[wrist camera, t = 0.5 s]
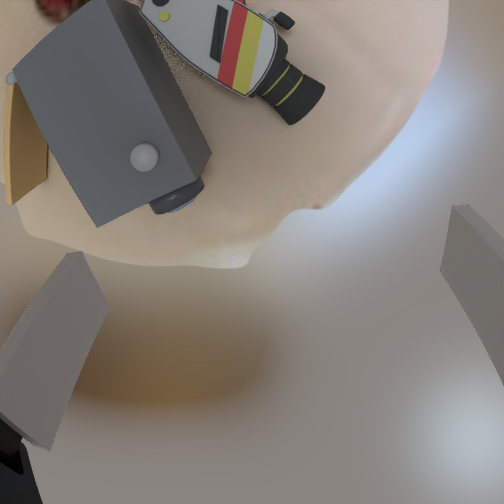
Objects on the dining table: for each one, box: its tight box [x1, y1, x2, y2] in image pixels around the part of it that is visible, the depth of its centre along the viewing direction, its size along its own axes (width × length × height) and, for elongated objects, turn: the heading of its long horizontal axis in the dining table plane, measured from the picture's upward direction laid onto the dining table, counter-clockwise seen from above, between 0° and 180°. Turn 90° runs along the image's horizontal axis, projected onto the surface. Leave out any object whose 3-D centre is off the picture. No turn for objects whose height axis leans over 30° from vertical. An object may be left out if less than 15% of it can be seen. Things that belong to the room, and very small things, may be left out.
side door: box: [4, 72, 47, 205], centre depth 28 cm, size 16×2×8 cm, turn 163°
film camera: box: [139, 0, 325, 125], centre depth 23 cm, size 7×19×15 cm
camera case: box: [12, 0, 211, 228], centre depth 27 cm, size 23×12×10 cm, turn 23°
